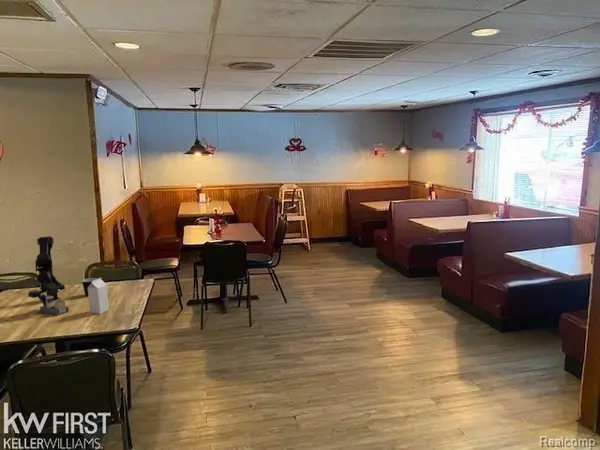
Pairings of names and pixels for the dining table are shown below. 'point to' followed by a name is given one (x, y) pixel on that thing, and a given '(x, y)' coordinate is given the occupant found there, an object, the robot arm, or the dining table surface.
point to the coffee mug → (87, 285)
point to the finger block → (49, 301)
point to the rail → (52, 311)
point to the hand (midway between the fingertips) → (48, 304)
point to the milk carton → (98, 296)
